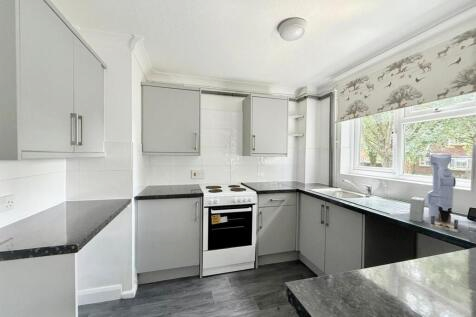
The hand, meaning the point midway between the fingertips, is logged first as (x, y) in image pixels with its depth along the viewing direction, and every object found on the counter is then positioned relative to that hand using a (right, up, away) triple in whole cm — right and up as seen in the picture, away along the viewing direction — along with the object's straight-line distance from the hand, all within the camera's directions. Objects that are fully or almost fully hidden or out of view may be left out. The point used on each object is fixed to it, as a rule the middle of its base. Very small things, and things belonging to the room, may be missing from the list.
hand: (444, 220), depth 118 cm
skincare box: (-5, -5, +13) cm, 15 cm away
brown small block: (0, -1, 0) cm, 1 cm away
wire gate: (+2, -4, +2) cm, 5 cm away
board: (+2, -5, +3) cm, 6 cm away
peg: (-2, -4, -1) cm, 5 cm away
